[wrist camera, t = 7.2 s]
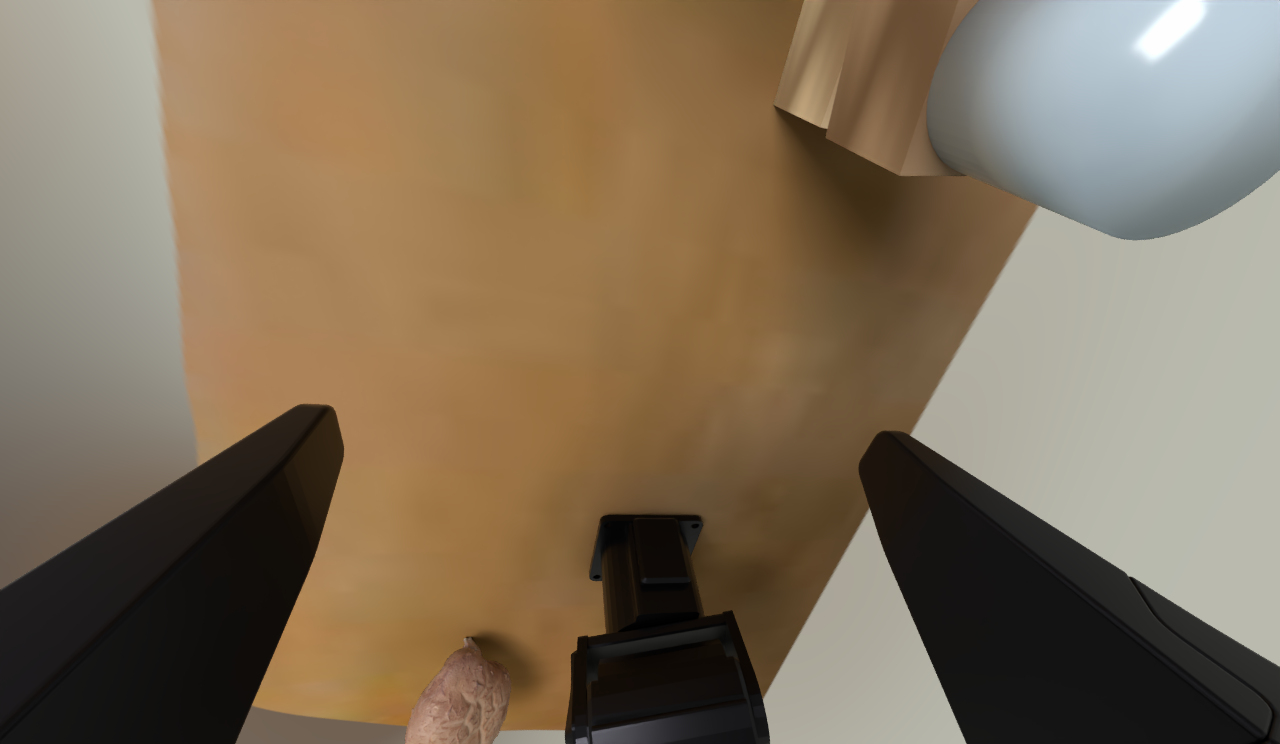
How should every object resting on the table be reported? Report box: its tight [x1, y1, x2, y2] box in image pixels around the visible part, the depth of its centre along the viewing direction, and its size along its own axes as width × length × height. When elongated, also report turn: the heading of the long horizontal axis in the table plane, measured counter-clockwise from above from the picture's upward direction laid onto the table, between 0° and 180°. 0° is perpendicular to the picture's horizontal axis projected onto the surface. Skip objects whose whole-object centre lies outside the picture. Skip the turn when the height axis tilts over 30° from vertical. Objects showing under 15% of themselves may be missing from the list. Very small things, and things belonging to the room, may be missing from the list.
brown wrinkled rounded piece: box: [405, 637, 511, 744], centre depth 34 cm, size 8×6×8 cm
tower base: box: [773, 0, 858, 129], centre depth 15 cm, size 4×4×4 cm
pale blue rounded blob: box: [927, 0, 1280, 240], centre depth 9 cm, size 4×4×4 cm
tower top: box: [825, 0, 979, 176], centre depth 12 cm, size 4×4×4 cm
